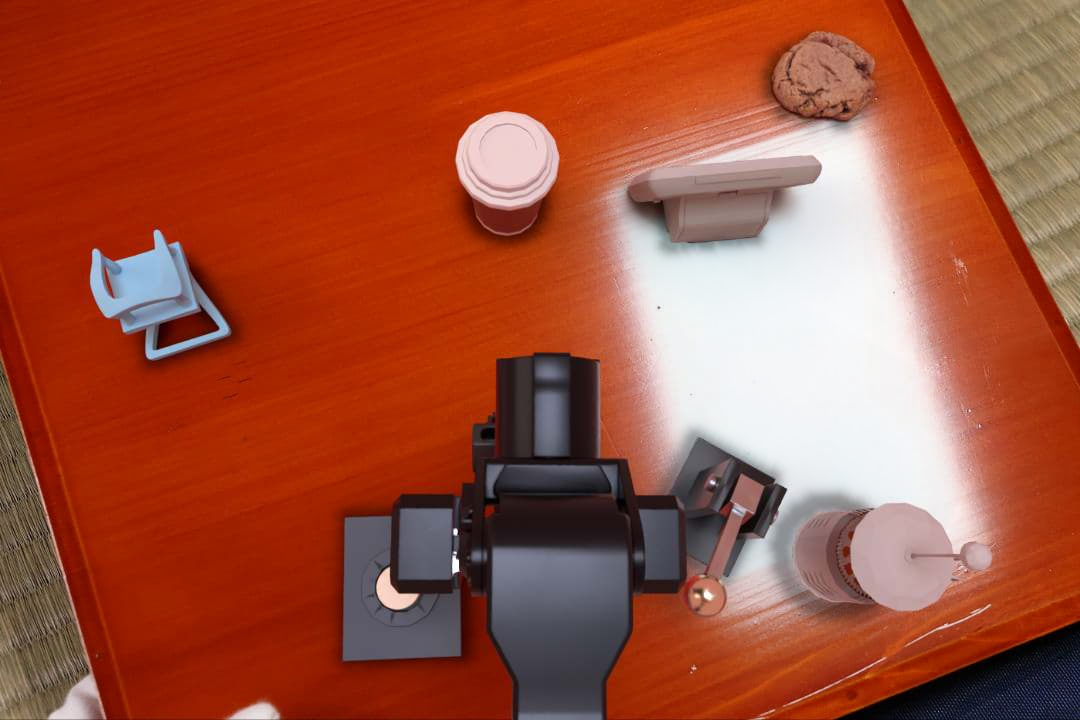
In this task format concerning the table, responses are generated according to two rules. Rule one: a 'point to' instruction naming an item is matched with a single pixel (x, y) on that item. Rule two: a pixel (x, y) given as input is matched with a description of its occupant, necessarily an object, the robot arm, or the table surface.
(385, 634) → the control box
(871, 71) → the cookie
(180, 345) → the chair
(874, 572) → the french press
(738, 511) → the switch lever
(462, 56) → the table surface
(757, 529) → the switch bracket
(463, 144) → the coffee cup
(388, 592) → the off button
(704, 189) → the digital clock
